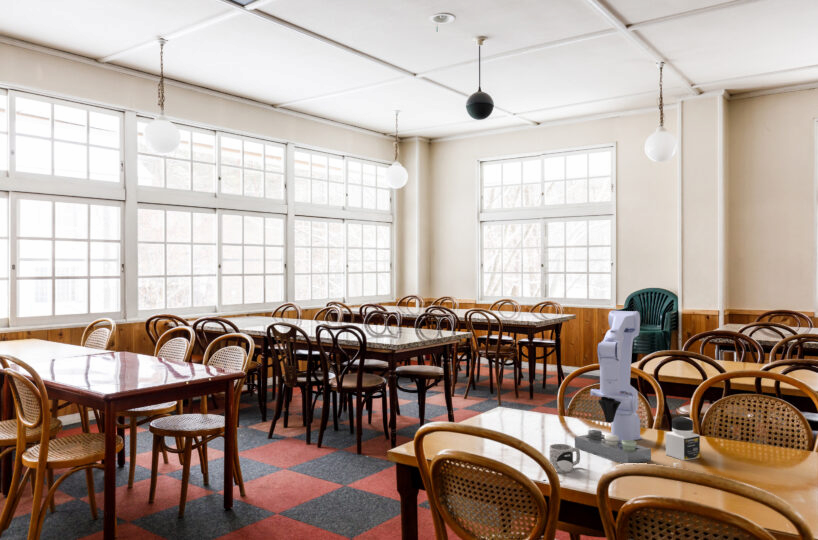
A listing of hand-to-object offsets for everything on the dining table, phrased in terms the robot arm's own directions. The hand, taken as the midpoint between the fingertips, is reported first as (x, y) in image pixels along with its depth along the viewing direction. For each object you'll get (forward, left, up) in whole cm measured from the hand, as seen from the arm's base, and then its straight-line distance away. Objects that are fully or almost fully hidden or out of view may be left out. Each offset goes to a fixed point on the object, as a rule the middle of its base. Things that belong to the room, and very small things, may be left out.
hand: (609, 421), depth 201 cm
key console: (0, +1, -10) cm, 10 cm away
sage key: (0, +8, -8) cm, 12 cm away
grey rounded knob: (0, -6, -8) cm, 10 cm away
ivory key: (0, +1, -8) cm, 8 cm away
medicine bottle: (-17, +14, -10) cm, 24 cm away
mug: (+23, +5, -10) cm, 26 cm away
